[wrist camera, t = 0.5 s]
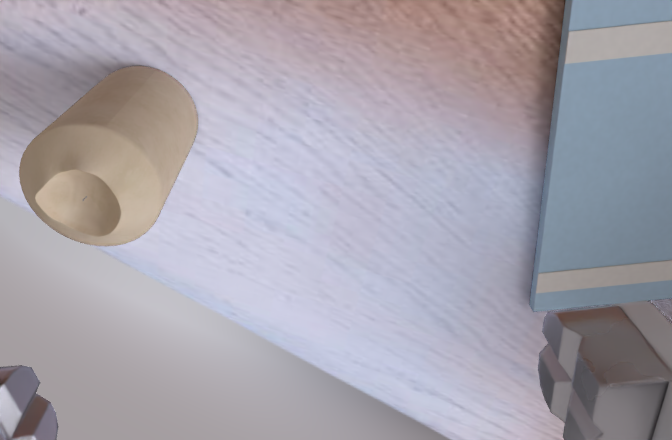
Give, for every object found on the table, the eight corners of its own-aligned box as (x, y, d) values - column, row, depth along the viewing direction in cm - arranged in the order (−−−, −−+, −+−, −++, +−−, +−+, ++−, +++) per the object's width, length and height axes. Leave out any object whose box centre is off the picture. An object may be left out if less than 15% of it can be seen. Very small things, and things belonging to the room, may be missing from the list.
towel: (566, -8, 27) (573, -5, 26) (810, -34, 26) (825, -32, 26) (528, 304, 37) (533, 313, 36) (704, 287, 37) (713, 295, 36)
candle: (86, 143, 30) (-6, 243, 21) (103, 48, 27) (6, 117, 18) (185, 175, 31) (137, 282, 22) (211, 86, 28) (167, 169, 20)
